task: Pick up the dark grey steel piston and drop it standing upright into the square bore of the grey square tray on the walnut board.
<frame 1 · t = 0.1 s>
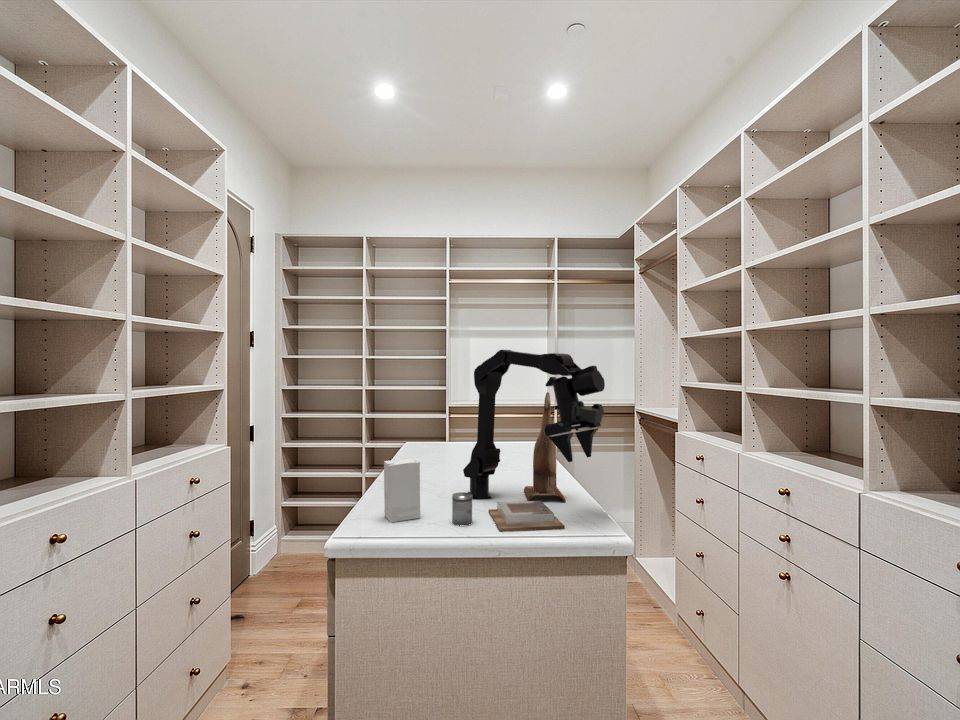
hand: (580, 459, 127), 15 cm above the table, tool pointing down, fingers open, 9 cm apart
skincare box: (401, 518, 128), on the table
bird sculpture: (543, 498, 149), on the table
steel piston: (462, 522, 124), on the table
grey square tray: (524, 512, 127), on the walnut board, point 1 cm above the table
walnut board: (524, 520, 127), on the table
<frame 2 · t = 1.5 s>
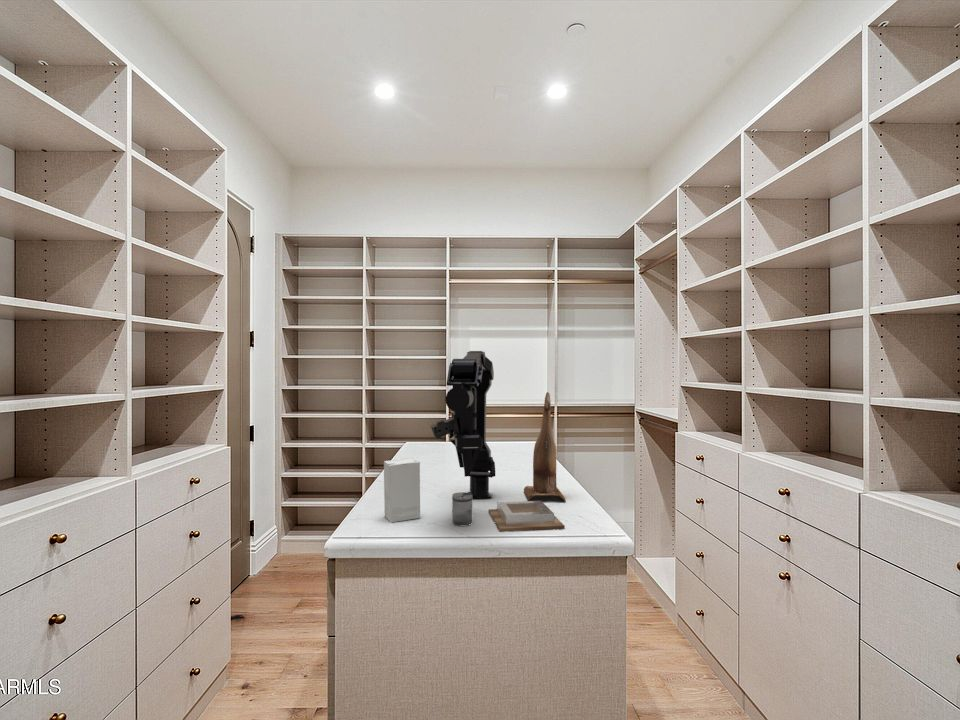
hand: (464, 470, 124), 13 cm above the table, tool pointing down, fingers open, 9 cm apart
nothing on the table moved.
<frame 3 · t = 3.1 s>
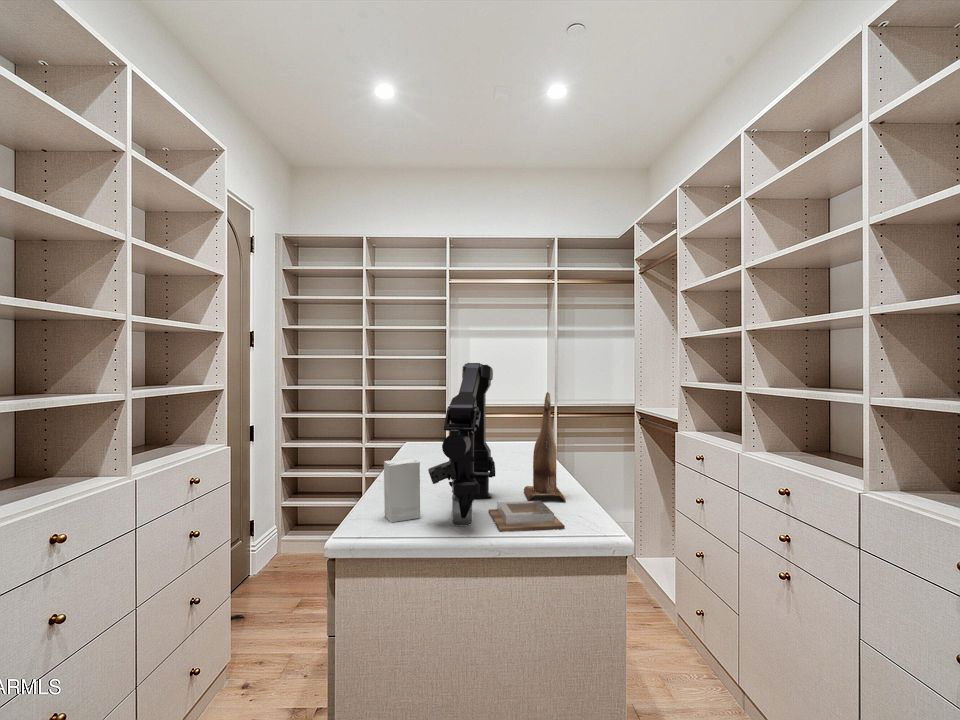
hand: (462, 514, 124), 2 cm above the table, tool pointing down, fingers closed on steel piston, 5 cm apart
steel piston: (462, 522, 124), on the table, touching gripper
everything else where it was.
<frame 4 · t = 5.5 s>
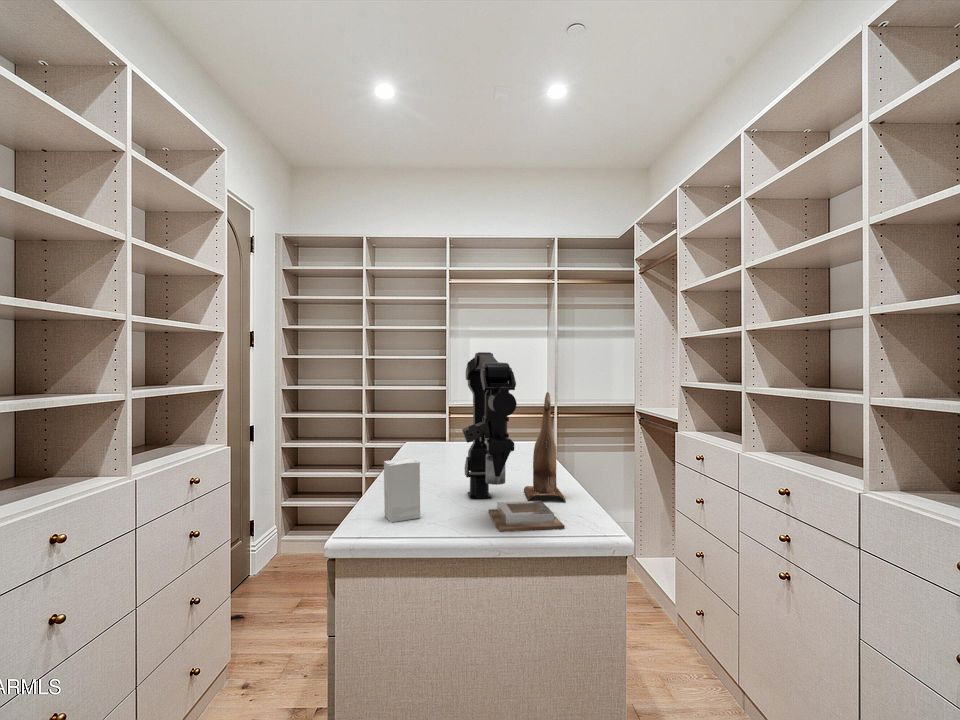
hand: (495, 474, 126), 12 cm above the table, tool pointing down, fingers closed on steel piston, 5 cm apart
steel piston: (495, 482, 126), point 10 cm above the table, touching gripper
everything else where it was.
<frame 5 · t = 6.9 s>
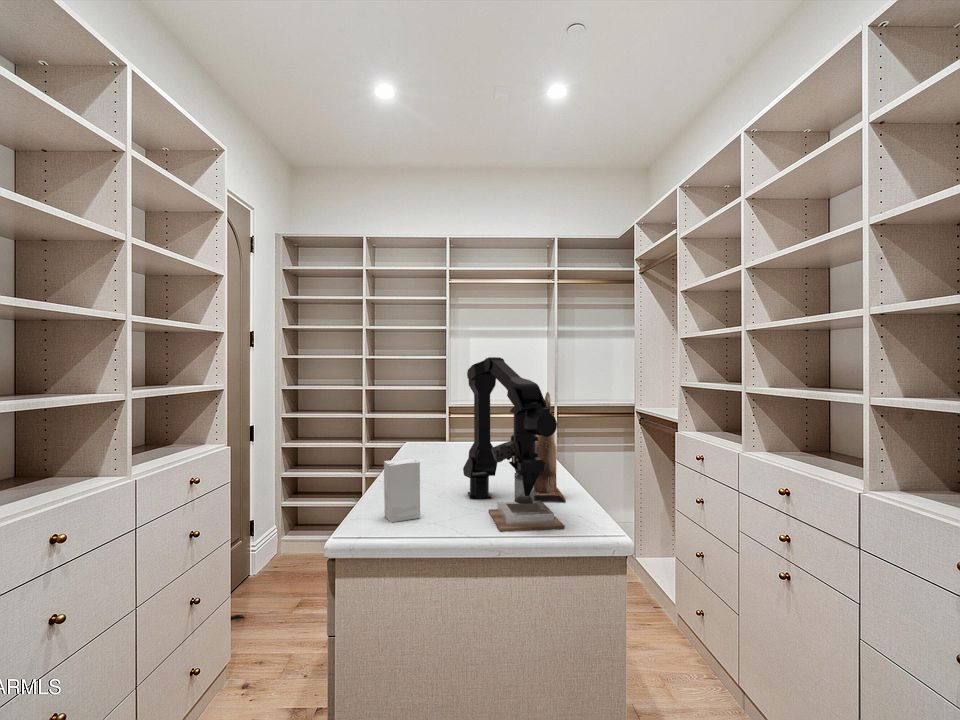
hand: (524, 493, 127), 7 cm above the table, tool pointing down, fingers closed on steel piston, 5 cm apart
steel piston: (524, 501, 127), point 5 cm above the table, touching gripper
everything else where it was.
when the fingers open (5 cm above the table, at t = 7.7 s): steel piston drops 2 cm, resting on walnut board.
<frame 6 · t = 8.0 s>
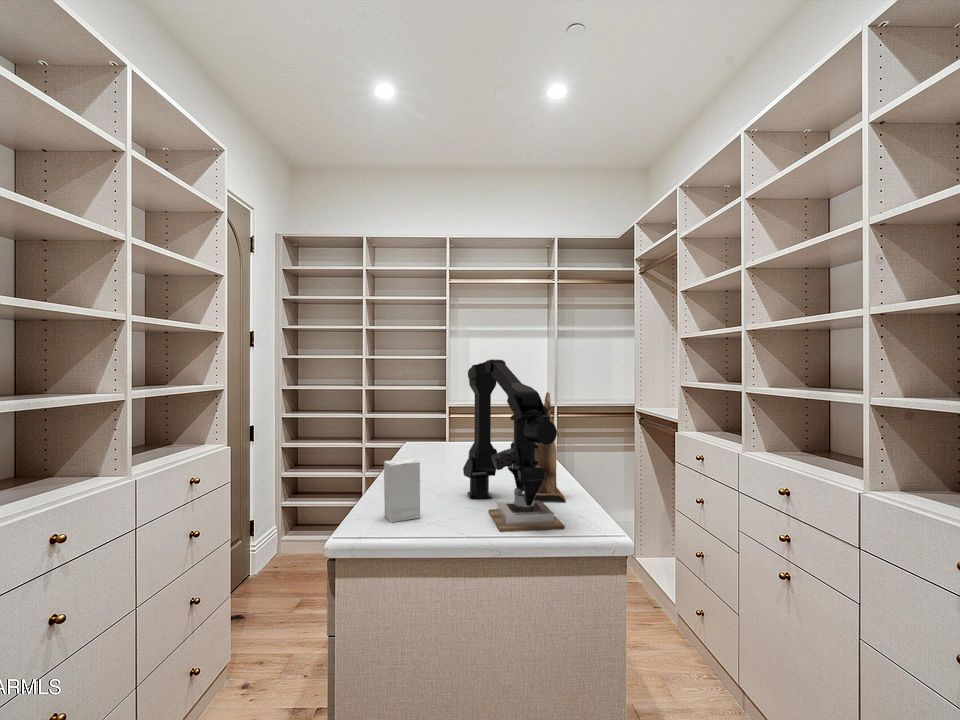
hand: (524, 500, 127), 5 cm above the table, tool pointing down, fingers open, 9 cm apart
steel piston: (524, 517, 127), point 1 cm above the table, touching walnut board
everything else where it was.
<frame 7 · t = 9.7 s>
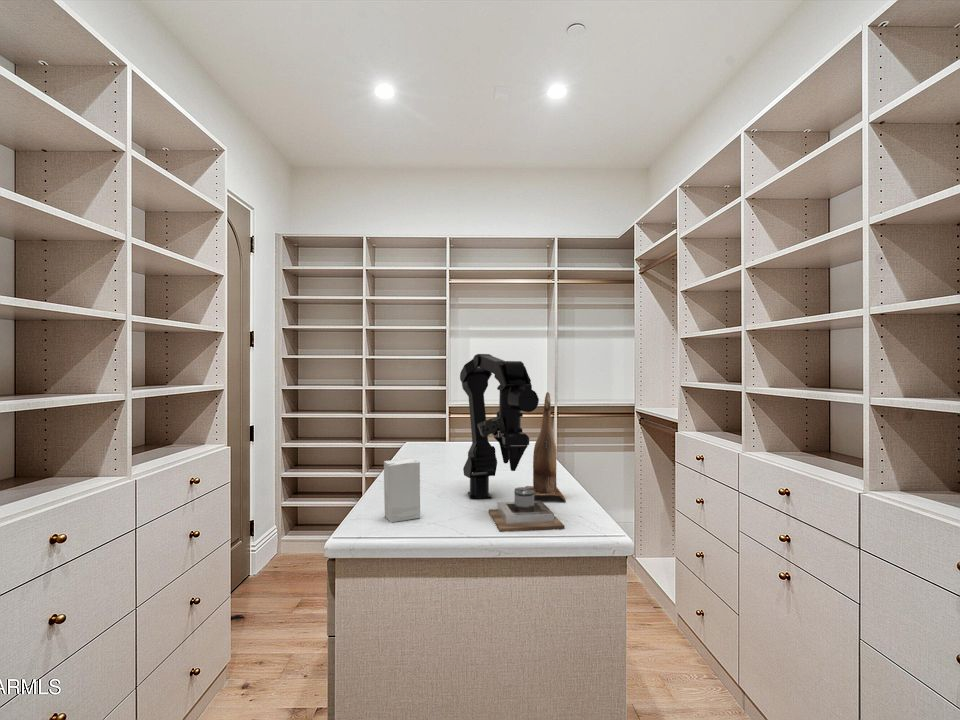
hand: (509, 466, 132), 13 cm above the table, tool pointing down, fingers open, 9 cm apart
nothing on the table moved.
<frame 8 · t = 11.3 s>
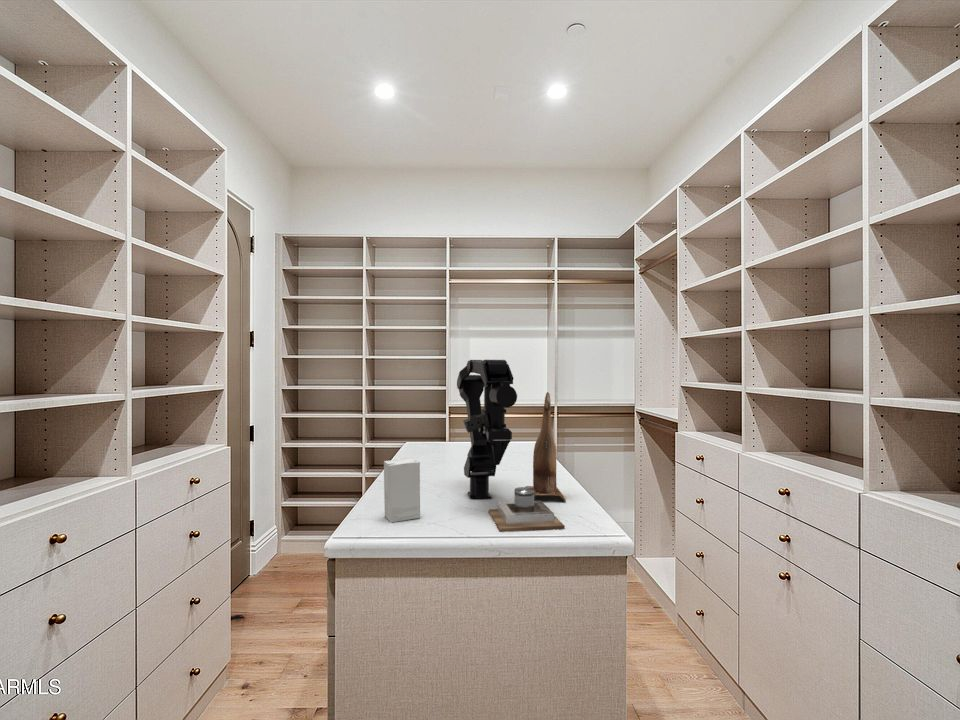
hand: (494, 461, 137), 13 cm above the table, tool pointing down, fingers open, 9 cm apart
nothing on the table moved.
at the end: steel piston 0.1 cm off-centre on the grey square tray, point 0.8 cm above the grey square tray's base; steel piston tilted 0°; the gripper is holding nothing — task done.
